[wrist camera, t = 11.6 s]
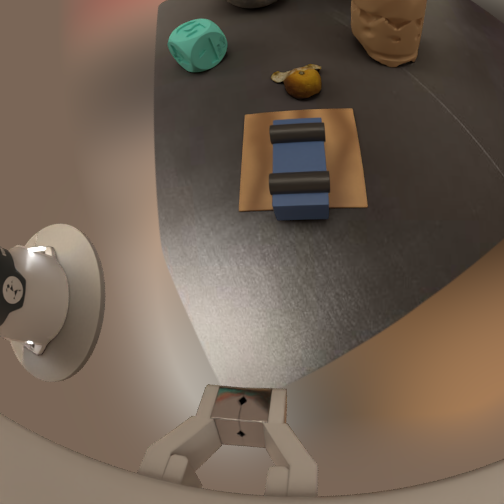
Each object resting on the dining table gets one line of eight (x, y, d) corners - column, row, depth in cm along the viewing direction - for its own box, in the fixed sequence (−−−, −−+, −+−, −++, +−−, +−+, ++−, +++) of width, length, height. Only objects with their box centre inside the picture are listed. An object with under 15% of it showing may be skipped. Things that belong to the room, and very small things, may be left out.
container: (427, 51, 41) (441, -24, 24) (396, 76, 40) (407, -13, 23) (374, 24, 45) (374, -49, 28) (337, 45, 45) (331, -38, 28)
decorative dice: (199, 78, 48) (183, 46, 41) (177, 65, 51) (161, 37, 44) (232, 55, 49) (220, 23, 41) (208, 44, 51) (196, 15, 44)
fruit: (316, 64, 44) (314, 48, 41) (335, 94, 41) (335, 77, 38) (269, 75, 45) (265, 60, 42) (284, 107, 42) (281, 90, 39)
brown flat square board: (239, 211, 39) (238, 210, 39) (245, 116, 43) (245, 114, 43) (367, 207, 36) (367, 206, 35) (352, 109, 40) (352, 108, 40)
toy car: (268, 201, 31) (269, 112, 34) (276, 223, 37) (277, 142, 40) (331, 198, 30) (322, 109, 33) (329, 222, 36) (323, 140, 39)
